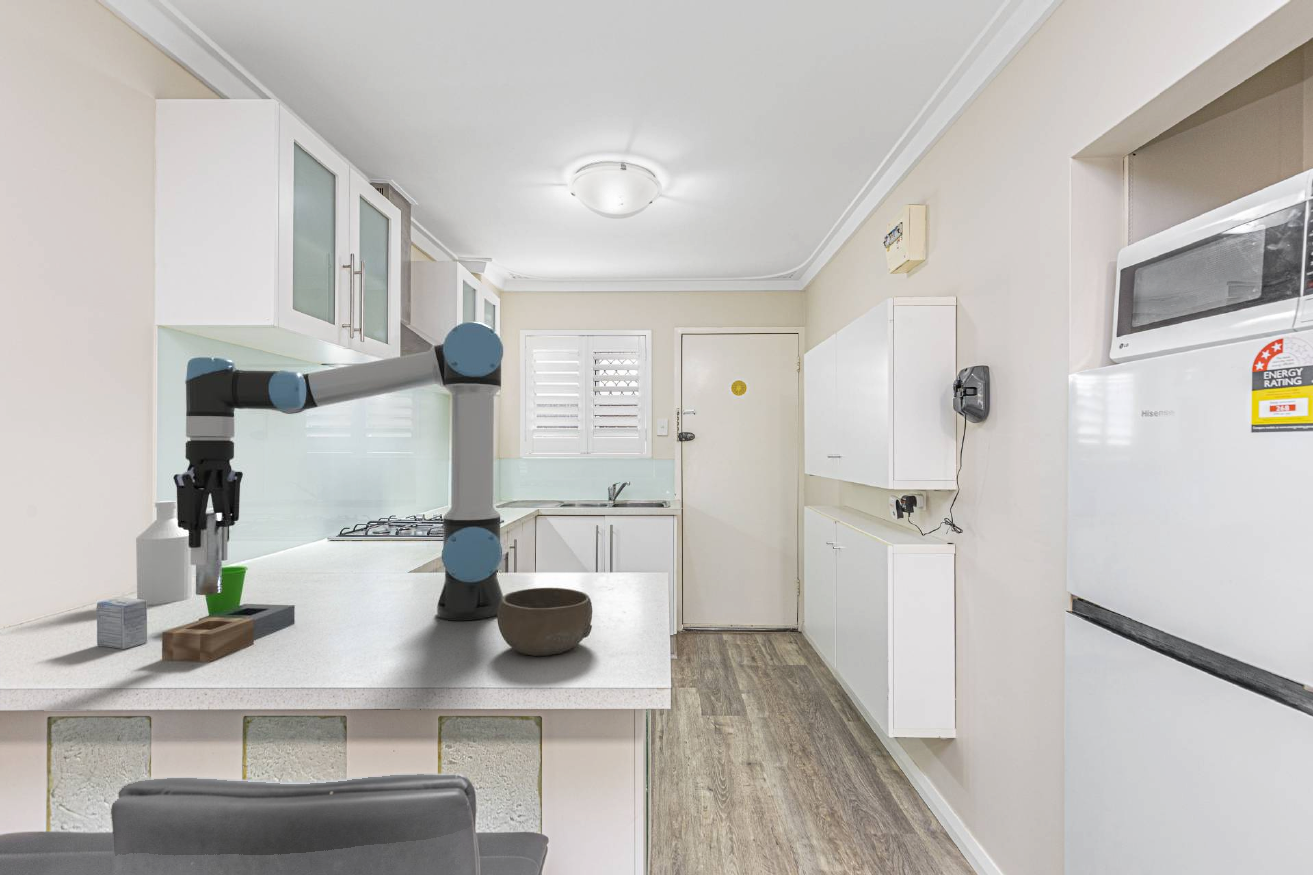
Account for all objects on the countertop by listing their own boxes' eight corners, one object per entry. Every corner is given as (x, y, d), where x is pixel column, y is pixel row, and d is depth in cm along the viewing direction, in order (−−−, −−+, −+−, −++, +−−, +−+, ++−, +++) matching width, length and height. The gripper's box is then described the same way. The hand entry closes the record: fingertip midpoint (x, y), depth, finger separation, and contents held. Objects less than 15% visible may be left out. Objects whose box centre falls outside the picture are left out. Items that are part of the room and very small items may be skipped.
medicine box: (148, 643, 123) (148, 599, 123) (122, 650, 119) (122, 604, 119) (121, 639, 126) (122, 596, 126) (95, 646, 122) (96, 601, 122)
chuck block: (294, 623, 136) (294, 605, 136) (252, 640, 124) (252, 620, 124) (244, 621, 138) (244, 603, 138) (198, 638, 126) (198, 618, 126)
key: (199, 589, 120) (199, 512, 121) (236, 590, 119) (236, 512, 120) (180, 594, 116) (181, 514, 117) (219, 595, 115) (219, 514, 116)
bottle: (204, 595, 162) (205, 500, 163) (152, 606, 151) (153, 504, 152) (177, 591, 167) (178, 498, 167) (125, 601, 156) (126, 502, 157)
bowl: (610, 647, 119) (609, 595, 119) (531, 671, 106) (531, 613, 107) (556, 629, 131) (556, 581, 131) (480, 649, 119) (480, 596, 119)
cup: (257, 613, 145) (257, 566, 145) (226, 624, 136) (226, 574, 136) (221, 612, 146) (221, 565, 146) (188, 623, 137) (188, 573, 137)
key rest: (253, 644, 122) (253, 618, 122) (211, 661, 112) (211, 633, 112) (208, 642, 123) (208, 617, 123) (162, 659, 113) (162, 632, 114)
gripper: (228, 439, 127) (227, 554, 127) (151, 439, 110) (149, 570, 110) (262, 439, 126) (261, 554, 126) (188, 438, 109) (187, 571, 109)
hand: (209, 562), depth 118 cm, fingers closed on key, 4 cm apart
